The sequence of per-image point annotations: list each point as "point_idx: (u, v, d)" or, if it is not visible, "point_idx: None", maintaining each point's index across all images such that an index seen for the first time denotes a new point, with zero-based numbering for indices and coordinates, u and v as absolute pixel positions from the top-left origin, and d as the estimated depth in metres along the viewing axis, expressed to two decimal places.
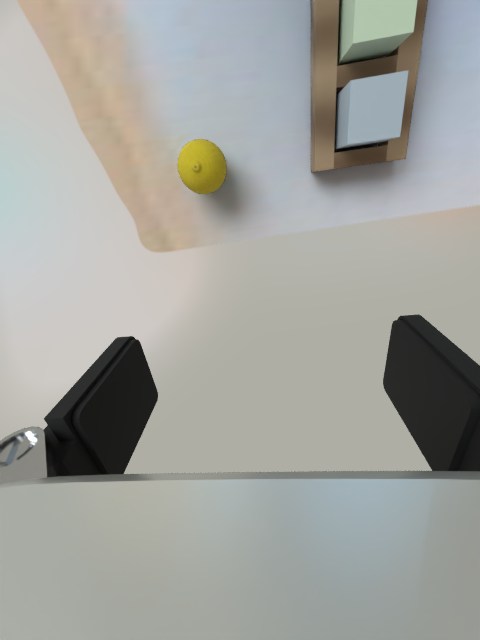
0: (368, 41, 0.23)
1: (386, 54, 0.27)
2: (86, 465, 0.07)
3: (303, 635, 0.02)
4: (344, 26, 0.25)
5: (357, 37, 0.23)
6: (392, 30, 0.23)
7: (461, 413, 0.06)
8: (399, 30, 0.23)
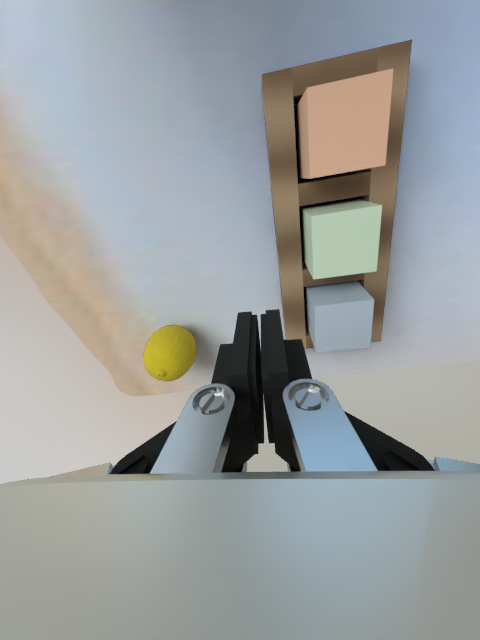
0: (330, 275, 0.22)
1: None
2: (252, 421, 0.08)
3: (302, 635, 0.02)
4: (306, 244, 0.24)
5: (317, 275, 0.22)
6: (354, 270, 0.21)
7: (263, 385, 0.07)
8: (361, 270, 0.21)
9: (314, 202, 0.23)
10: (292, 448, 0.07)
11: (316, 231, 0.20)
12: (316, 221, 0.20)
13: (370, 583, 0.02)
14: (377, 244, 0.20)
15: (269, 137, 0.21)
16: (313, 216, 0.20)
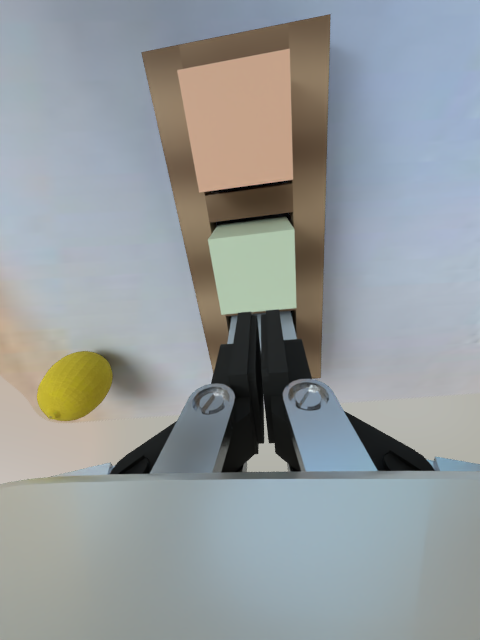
0: (242, 310, 0.18)
1: None
2: (253, 421, 0.08)
3: (303, 636, 0.02)
4: None
5: (226, 309, 0.18)
6: (269, 305, 0.17)
7: (263, 384, 0.07)
8: (278, 306, 0.17)
9: (227, 218, 0.18)
10: (292, 448, 0.07)
11: (216, 258, 0.16)
12: (215, 246, 0.16)
13: (370, 583, 0.02)
14: (293, 276, 0.16)
15: (162, 135, 0.16)
16: (210, 239, 0.16)
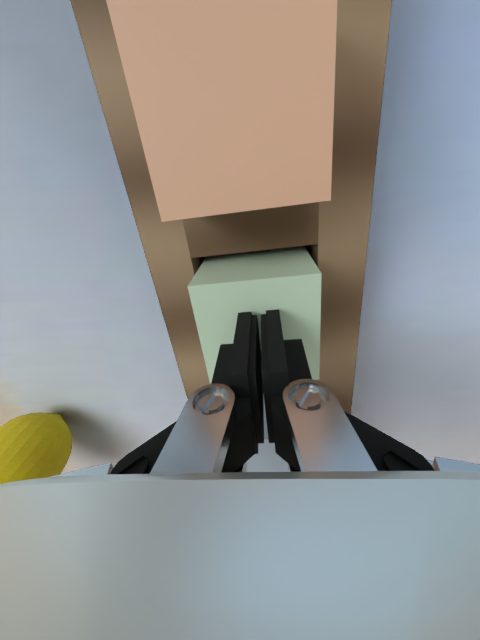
0: None
1: None
2: (252, 421, 0.08)
3: (303, 635, 0.02)
4: None
5: None
6: None
7: (263, 384, 0.07)
8: None
9: (218, 252, 0.12)
10: (292, 448, 0.07)
11: (201, 312, 0.11)
12: (198, 295, 0.10)
13: (370, 583, 0.02)
14: (317, 339, 0.11)
15: (110, 126, 0.10)
16: (192, 286, 0.10)
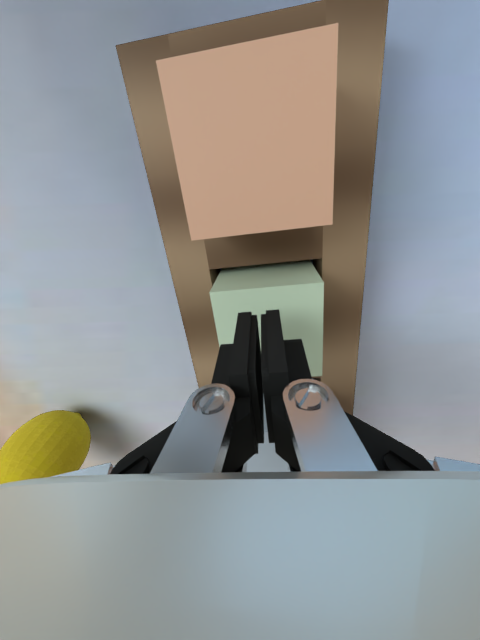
0: None
1: None
2: (252, 421, 0.08)
3: (303, 635, 0.02)
4: None
5: None
6: None
7: (263, 385, 0.07)
8: None
9: (233, 265, 0.14)
10: (292, 448, 0.07)
11: (220, 315, 0.12)
12: (218, 300, 0.12)
13: (370, 583, 0.02)
14: (320, 339, 0.13)
15: (146, 158, 0.12)
16: (213, 292, 0.12)
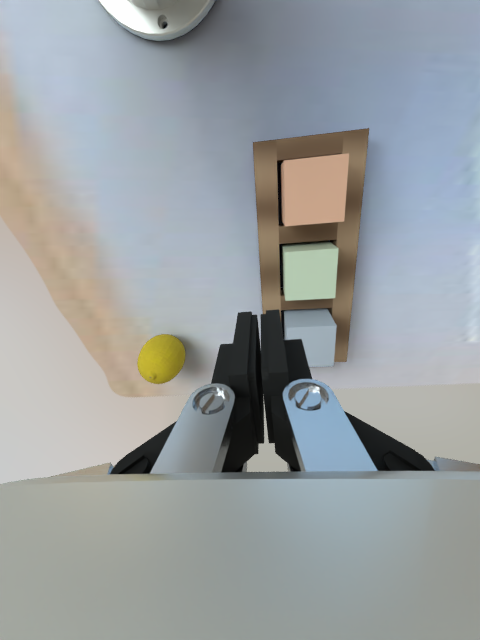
0: (299, 298, 0.28)
1: None
2: (252, 421, 0.08)
3: (303, 636, 0.02)
4: (283, 272, 0.29)
5: (289, 297, 0.27)
6: (317, 295, 0.27)
7: (263, 385, 0.07)
8: (323, 296, 0.27)
9: (291, 241, 0.27)
10: (292, 448, 0.07)
11: (288, 263, 0.26)
12: (288, 256, 0.26)
13: (371, 584, 0.02)
14: (335, 277, 0.26)
15: (256, 188, 0.26)
16: (286, 252, 0.26)
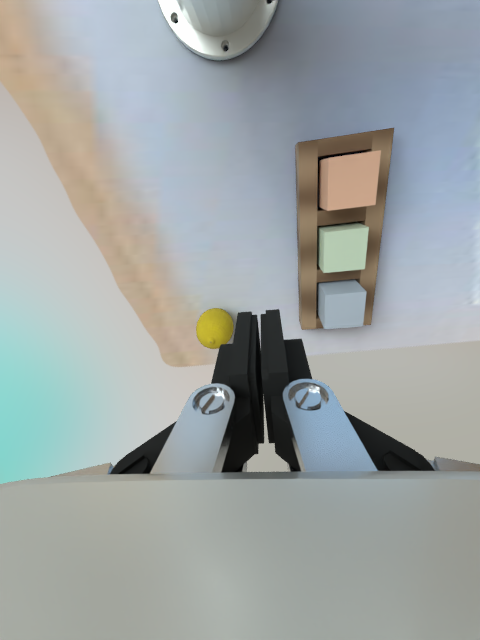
0: (334, 271, 0.34)
1: None
2: (253, 421, 0.08)
3: (303, 635, 0.02)
4: (319, 250, 0.35)
5: (326, 270, 0.33)
6: (350, 267, 0.33)
7: (263, 385, 0.07)
8: (355, 268, 0.33)
9: (327, 223, 0.33)
10: (292, 448, 0.07)
11: (327, 242, 0.32)
12: (327, 235, 0.31)
13: (370, 583, 0.02)
14: (365, 251, 0.32)
15: (300, 180, 0.31)
16: (325, 232, 0.31)
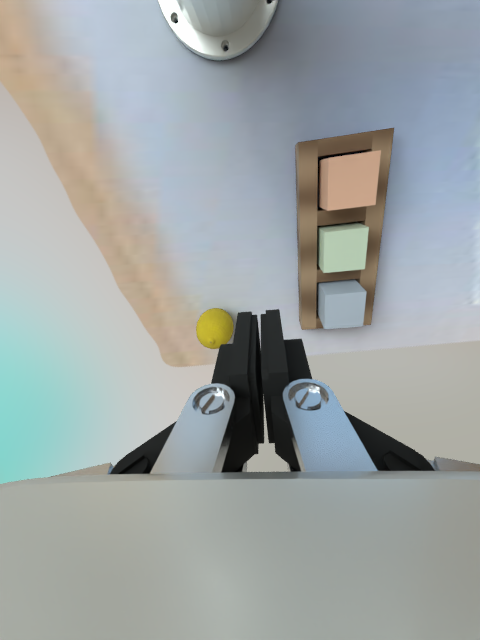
0: (334, 271, 0.34)
1: None
2: (252, 421, 0.08)
3: (303, 635, 0.02)
4: (319, 249, 0.35)
5: (326, 270, 0.33)
6: (350, 267, 0.33)
7: (263, 385, 0.07)
8: (355, 268, 0.33)
9: (327, 223, 0.33)
10: (292, 448, 0.07)
11: (327, 242, 0.32)
12: (327, 235, 0.31)
13: (370, 583, 0.02)
14: (365, 251, 0.32)
15: (300, 180, 0.31)
16: (325, 232, 0.31)
